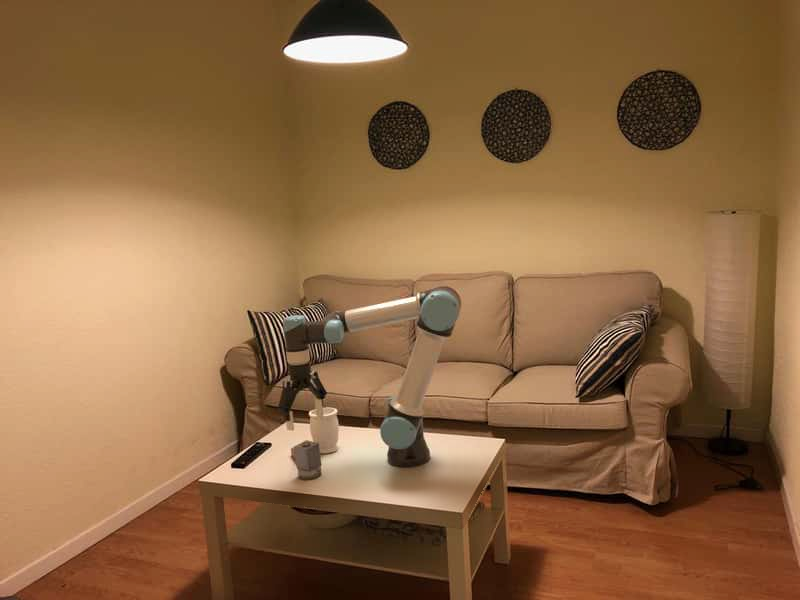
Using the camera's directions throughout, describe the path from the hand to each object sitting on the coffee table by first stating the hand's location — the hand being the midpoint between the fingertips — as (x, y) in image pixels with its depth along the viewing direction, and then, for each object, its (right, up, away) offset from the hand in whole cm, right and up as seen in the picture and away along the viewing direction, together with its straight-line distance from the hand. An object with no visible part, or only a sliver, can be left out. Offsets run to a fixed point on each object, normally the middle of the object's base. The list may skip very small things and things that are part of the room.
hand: (305, 423), depth 232 cm
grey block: (+1, -15, +2) cm, 15 cm away
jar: (+4, -15, +26) cm, 30 cm away
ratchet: (-2, -17, +11) cm, 21 cm away
